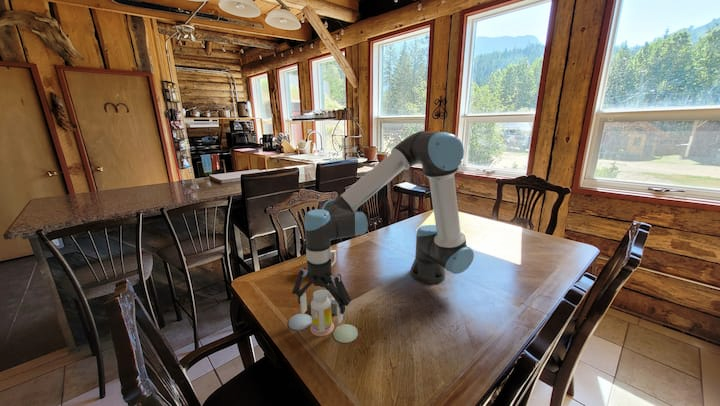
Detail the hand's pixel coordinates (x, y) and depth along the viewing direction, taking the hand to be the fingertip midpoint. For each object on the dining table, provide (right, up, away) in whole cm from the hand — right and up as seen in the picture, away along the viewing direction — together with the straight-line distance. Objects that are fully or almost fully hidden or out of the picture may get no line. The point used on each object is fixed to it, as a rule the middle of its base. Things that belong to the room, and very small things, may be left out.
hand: (321, 316), depth 95 cm
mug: (-4, +6, +36) cm, 37 cm away
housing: (+2, -1, +13) cm, 13 cm away
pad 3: (+8, -5, -1) cm, 10 cm away
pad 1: (-8, -4, +4) cm, 10 cm away
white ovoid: (+2, 0, +13) cm, 13 cm away
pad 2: (0, -4, +1) cm, 5 cm away
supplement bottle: (0, -4, +1) cm, 4 cm away
